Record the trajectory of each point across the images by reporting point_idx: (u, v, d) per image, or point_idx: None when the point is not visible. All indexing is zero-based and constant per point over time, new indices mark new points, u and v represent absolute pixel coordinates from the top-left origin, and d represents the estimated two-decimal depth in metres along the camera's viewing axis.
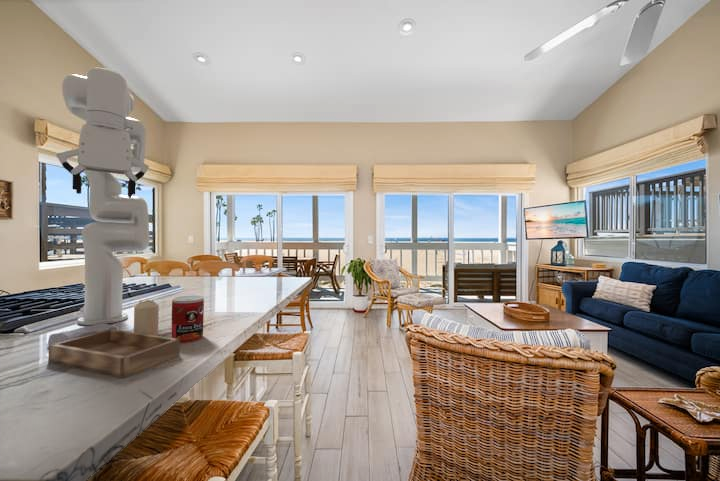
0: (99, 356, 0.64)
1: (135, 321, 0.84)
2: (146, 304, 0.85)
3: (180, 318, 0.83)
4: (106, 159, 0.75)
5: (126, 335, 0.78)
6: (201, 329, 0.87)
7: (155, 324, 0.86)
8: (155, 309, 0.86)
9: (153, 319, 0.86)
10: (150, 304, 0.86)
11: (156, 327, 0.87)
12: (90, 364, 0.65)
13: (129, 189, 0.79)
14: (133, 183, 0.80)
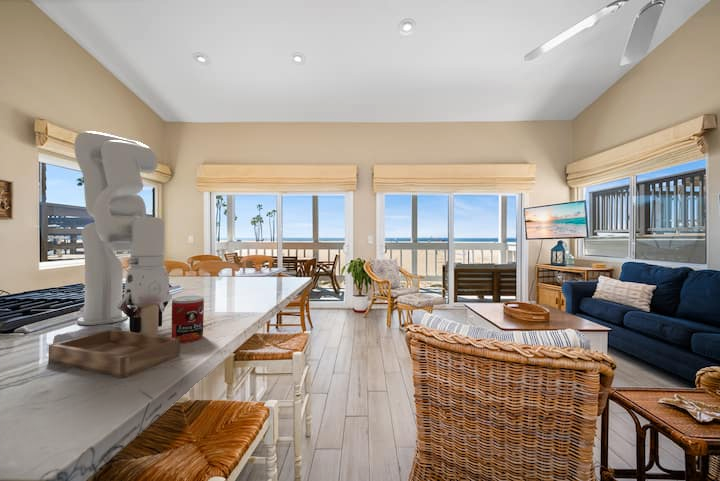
0: (99, 356, 0.64)
1: None
2: None
3: (179, 318, 0.83)
4: None
5: (126, 335, 0.78)
6: (201, 329, 0.87)
7: (155, 324, 0.86)
8: (155, 309, 0.86)
9: (153, 319, 0.86)
10: None
11: (156, 327, 0.87)
12: (90, 364, 0.65)
13: None
14: None
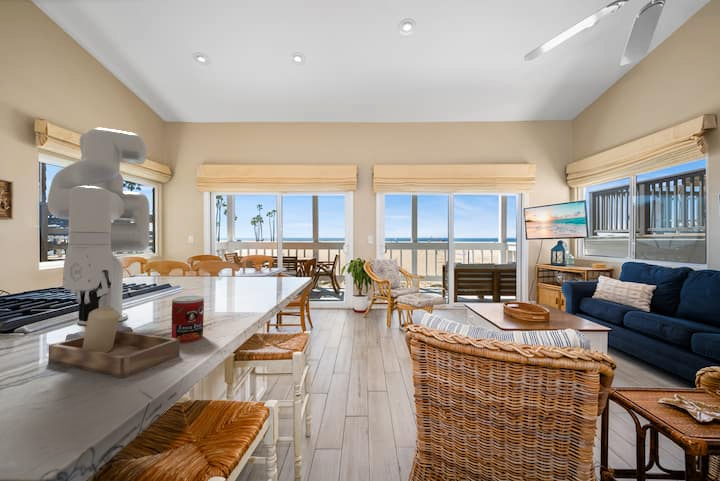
0: (99, 356, 0.64)
1: None
2: (95, 310, 0.72)
3: (180, 318, 0.83)
4: None
5: (126, 335, 0.78)
6: (201, 329, 0.87)
7: (88, 337, 0.70)
8: (91, 320, 0.70)
9: (88, 330, 0.70)
10: (94, 312, 0.71)
11: (90, 342, 0.70)
12: (90, 364, 0.65)
13: None
14: None
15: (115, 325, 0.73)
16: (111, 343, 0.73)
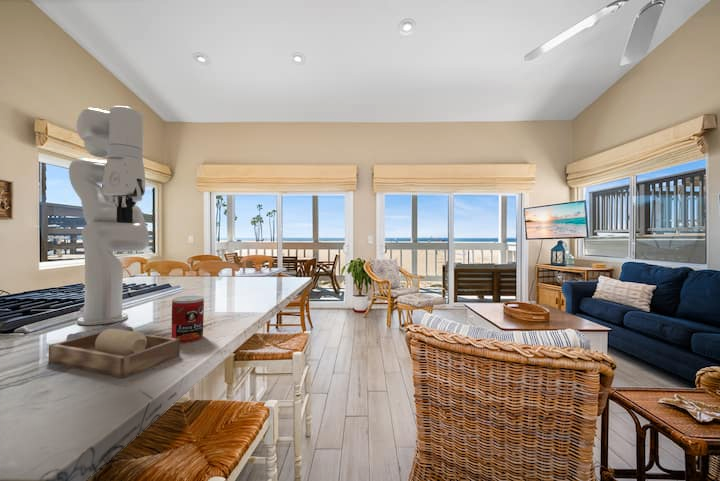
0: (99, 356, 0.64)
1: None
2: (132, 341, 0.69)
3: (180, 318, 0.83)
4: None
5: None
6: (201, 329, 0.87)
7: (106, 347, 0.69)
8: (119, 348, 0.68)
9: (111, 345, 0.69)
10: (129, 345, 0.68)
11: (103, 348, 0.70)
12: (90, 364, 0.65)
13: None
14: None
15: None
16: None
